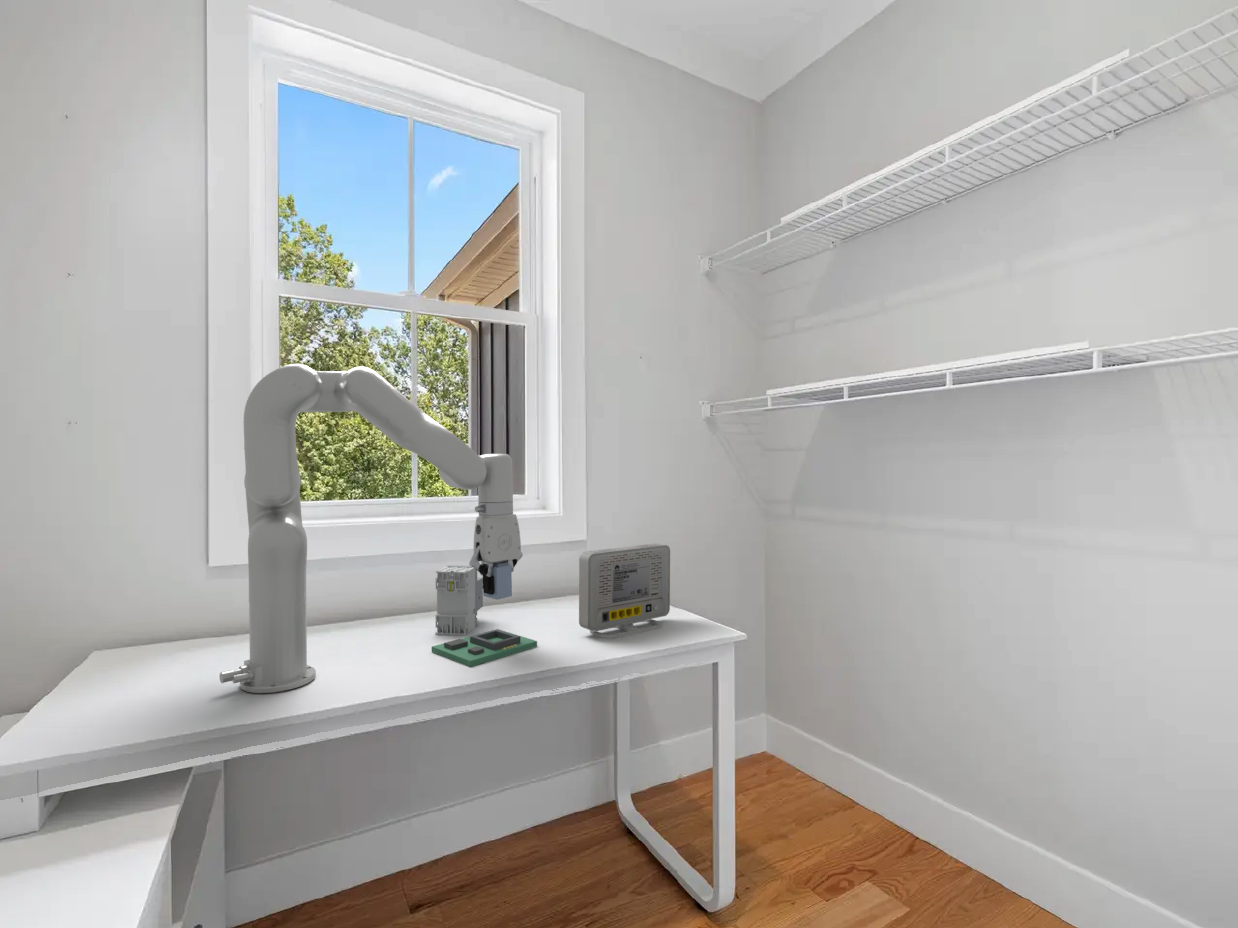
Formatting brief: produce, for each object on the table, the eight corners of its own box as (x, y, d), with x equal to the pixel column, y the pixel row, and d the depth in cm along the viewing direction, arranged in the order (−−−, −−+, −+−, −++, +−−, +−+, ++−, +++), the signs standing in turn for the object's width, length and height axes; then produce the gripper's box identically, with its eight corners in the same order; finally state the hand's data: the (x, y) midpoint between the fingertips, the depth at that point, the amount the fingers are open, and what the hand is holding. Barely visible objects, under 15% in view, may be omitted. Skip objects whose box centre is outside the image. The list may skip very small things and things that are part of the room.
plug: (497, 599, 137) (496, 564, 137) (482, 596, 141) (482, 562, 141) (511, 596, 140) (511, 562, 140) (497, 592, 144) (496, 559, 144)
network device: (654, 617, 167) (655, 541, 167) (676, 624, 160) (677, 545, 160) (573, 633, 152) (573, 550, 151) (594, 642, 145) (595, 555, 144)
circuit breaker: (484, 619, 164) (484, 561, 164) (466, 635, 150) (466, 572, 150) (456, 618, 165) (456, 561, 165) (435, 634, 151) (435, 571, 150)
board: (470, 666, 128) (470, 654, 128) (431, 651, 138) (431, 640, 137) (537, 646, 142) (537, 634, 142) (497, 633, 151) (497, 623, 151)
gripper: (474, 514, 131) (476, 601, 132) (535, 507, 144) (537, 587, 144) (453, 511, 136) (455, 596, 137) (514, 505, 149) (515, 582, 149)
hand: (497, 590), depth 141 cm, fingers closed on plug, 4 cm apart
